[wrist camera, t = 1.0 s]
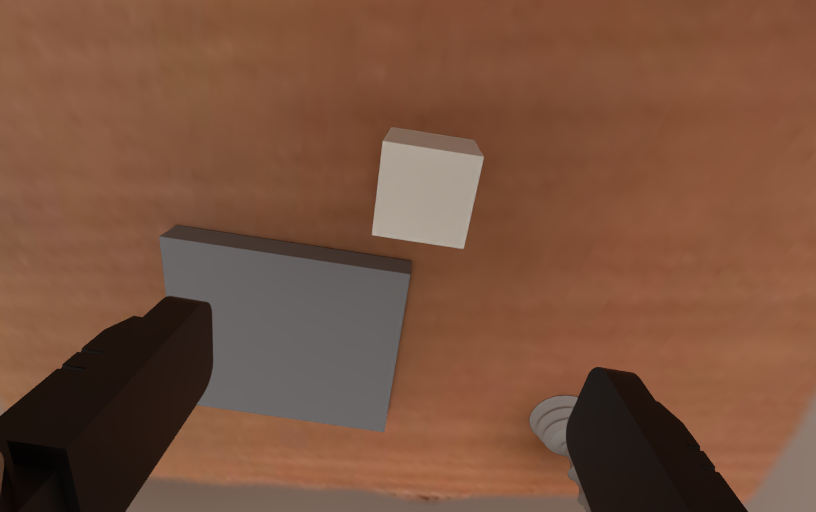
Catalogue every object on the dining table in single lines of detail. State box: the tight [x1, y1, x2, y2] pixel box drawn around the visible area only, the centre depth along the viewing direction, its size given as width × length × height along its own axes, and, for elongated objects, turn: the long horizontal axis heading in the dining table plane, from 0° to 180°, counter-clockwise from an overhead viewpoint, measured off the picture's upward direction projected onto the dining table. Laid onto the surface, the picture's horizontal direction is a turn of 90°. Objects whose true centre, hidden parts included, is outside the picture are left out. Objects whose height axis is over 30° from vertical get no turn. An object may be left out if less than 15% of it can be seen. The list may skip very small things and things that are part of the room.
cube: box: [372, 127, 484, 249], centre depth 24 cm, size 5×5×5 cm
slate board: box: [159, 225, 412, 432], centre depth 30 cm, size 16×14×2 cm
